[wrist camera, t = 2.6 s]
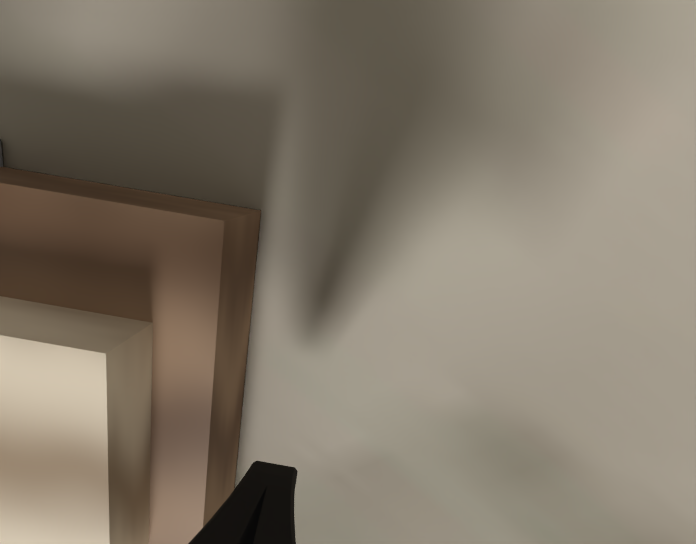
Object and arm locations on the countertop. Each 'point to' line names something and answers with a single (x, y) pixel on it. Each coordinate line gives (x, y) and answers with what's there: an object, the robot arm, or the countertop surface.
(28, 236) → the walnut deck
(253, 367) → the countertop surface
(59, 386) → the birch tile
